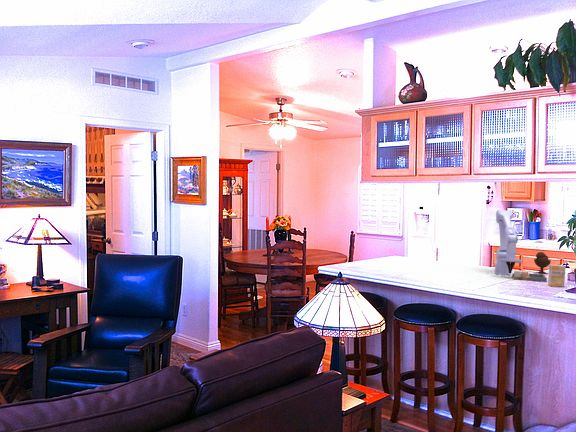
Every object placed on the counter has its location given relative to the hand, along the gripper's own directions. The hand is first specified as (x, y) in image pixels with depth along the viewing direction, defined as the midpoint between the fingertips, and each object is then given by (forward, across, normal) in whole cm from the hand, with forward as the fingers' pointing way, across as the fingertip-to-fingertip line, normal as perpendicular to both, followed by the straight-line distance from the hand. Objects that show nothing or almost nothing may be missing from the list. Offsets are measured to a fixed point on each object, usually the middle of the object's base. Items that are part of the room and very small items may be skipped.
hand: (510, 273), depth 375 cm
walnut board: (+3, +7, 0) cm, 8 cm away
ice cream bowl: (+3, +23, +29) cm, 37 cm away
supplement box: (+3, +25, -21) cm, 33 cm away
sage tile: (+1, +5, 0) cm, 5 cm away
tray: (+3, +17, 0) cm, 17 cm away
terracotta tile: (+1, +9, 0) cm, 9 cm away
